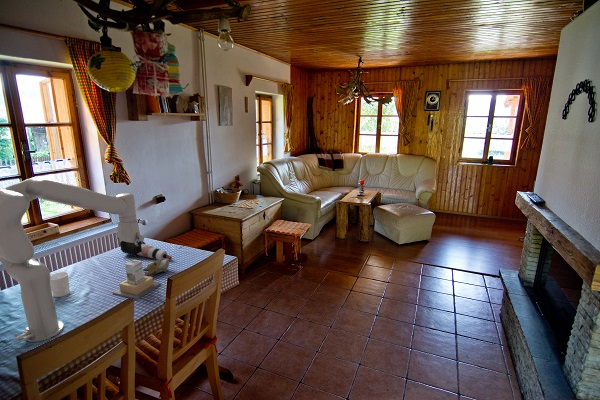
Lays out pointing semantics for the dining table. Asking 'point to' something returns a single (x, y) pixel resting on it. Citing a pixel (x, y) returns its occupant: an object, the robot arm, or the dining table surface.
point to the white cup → (59, 284)
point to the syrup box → (134, 272)
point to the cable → (146, 251)
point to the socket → (136, 288)
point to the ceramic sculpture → (156, 267)
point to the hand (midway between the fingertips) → (131, 251)
